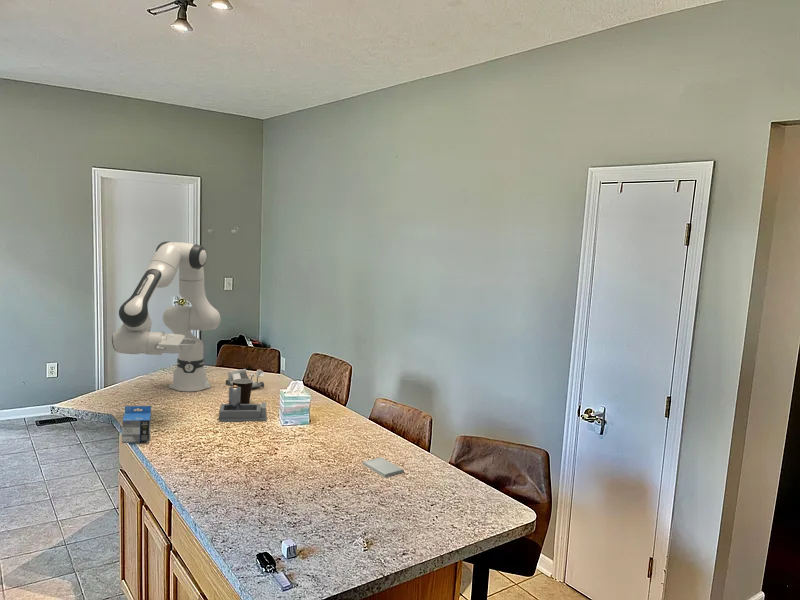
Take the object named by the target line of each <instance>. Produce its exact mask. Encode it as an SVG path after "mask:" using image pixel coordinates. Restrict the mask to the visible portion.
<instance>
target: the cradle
mask: <svg viewBox="0 0 800 600" xmlns="http://www.w3.org/2000/svg"><path fill="white" fill-rule="evenodd" d="M218 410H219V412H218V419H219V422H220V423H239V422H240V423H243V422H244V421H245V423H249V421H266V422H267V402H265V401H263V402H262V401H261V403H249V404H240V410H228V403H221V404H220V407H219V409H218ZM246 421H248V422H246Z"/></svg>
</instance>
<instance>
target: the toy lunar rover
mask: <svg viewBox="0 0 800 600" xmlns="http://www.w3.org/2000/svg"><path fill="white" fill-rule="evenodd" d="M227 374H228V375H227V376H228V377H227V379H226V380H225V385H226V386H229V387H230V386H233V380H235V379H250V380H252V381H253V383H252V388H258V387H261V388H264V387H265V382H264V381H260V382H259V378H263V377H264V375H265V373H264V371H263V370H261V369H257V370H256V372H255V374H256V381H254V380H253V378H254V377H255V375H254V373H249V375H248V374H247V368H243V369H237V370H230V371H228V373H227Z"/></svg>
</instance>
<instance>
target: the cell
mask: <svg viewBox="0 0 800 600" xmlns="http://www.w3.org/2000/svg"><path fill="white" fill-rule="evenodd" d="M240 395H241V387H238V386H237V385H231V386H229V387H228V403H227V404H228V410H240Z"/></svg>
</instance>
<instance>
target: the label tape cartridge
mask: <svg viewBox="0 0 800 600" xmlns="http://www.w3.org/2000/svg"><path fill="white" fill-rule="evenodd" d="M151 421H152V405H125V406H124V414H123V417H122V425H121V427H122V428H121V429H122V430H121V444H137V443H138V444H139V443H143V444H144V443H150V441H151V424H152V422H151Z"/></svg>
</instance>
